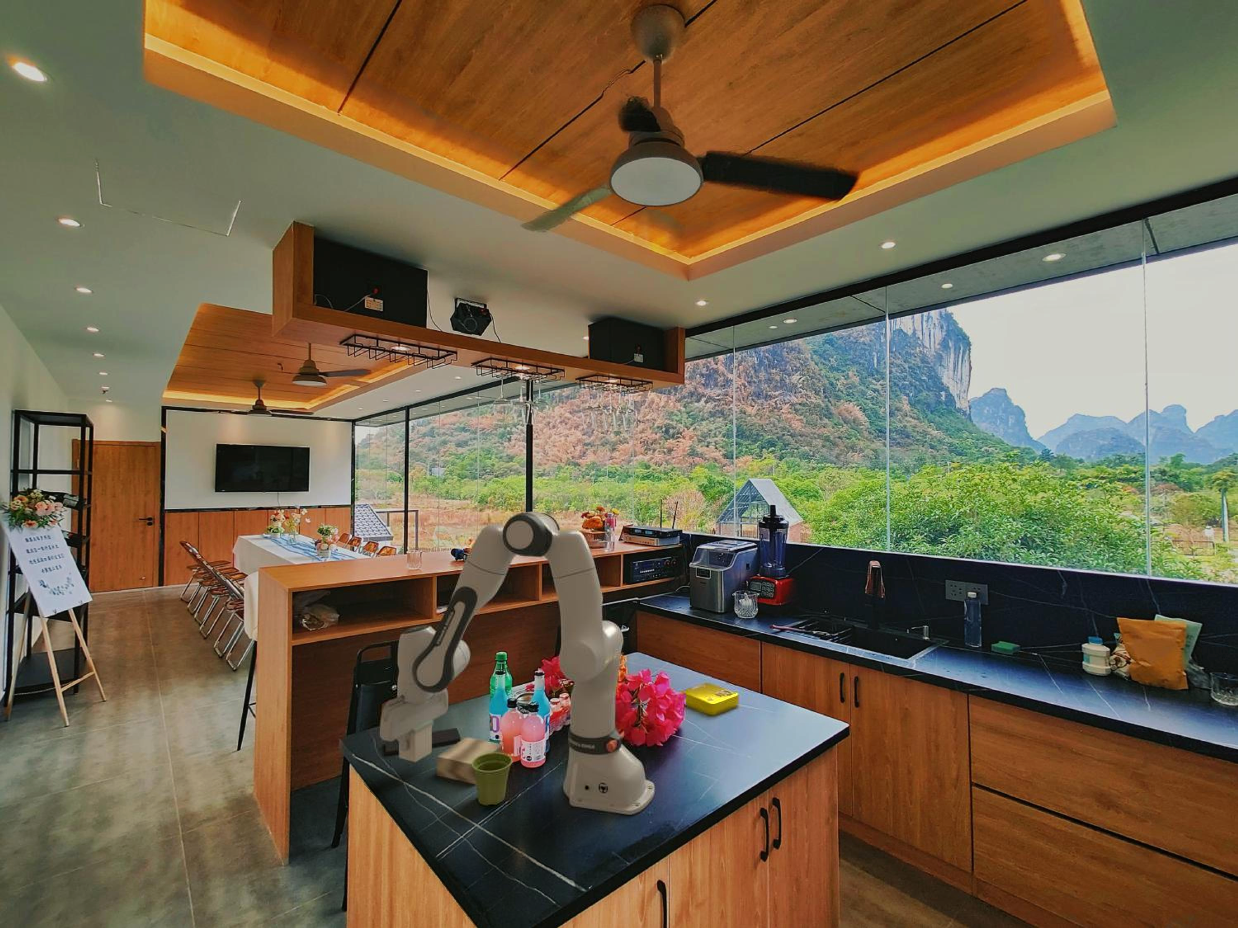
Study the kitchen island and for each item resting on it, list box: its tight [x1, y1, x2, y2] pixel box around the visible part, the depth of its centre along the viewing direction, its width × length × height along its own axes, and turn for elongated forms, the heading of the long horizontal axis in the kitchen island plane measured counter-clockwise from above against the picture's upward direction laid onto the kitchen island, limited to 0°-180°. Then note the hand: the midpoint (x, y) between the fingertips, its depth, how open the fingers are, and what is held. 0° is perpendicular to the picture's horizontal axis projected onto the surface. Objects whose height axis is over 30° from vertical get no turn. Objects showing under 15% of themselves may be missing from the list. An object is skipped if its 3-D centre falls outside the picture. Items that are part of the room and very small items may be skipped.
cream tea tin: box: [398, 720, 434, 763], centre depth 144 cm, size 6×6×8 cm
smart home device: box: [384, 727, 462, 757], centre depth 160 cm, size 8×2×20 cm
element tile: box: [680, 682, 740, 717], centre depth 190 cm, size 15×15×5 cm
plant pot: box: [472, 752, 513, 806], centre depth 132 cm, size 9×9×9 cm
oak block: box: [436, 736, 504, 785], centre depth 146 cm, size 12×12×5 cm
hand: (415, 743), depth 144 cm, fingers closed on cream tea tin, 6 cm apart
